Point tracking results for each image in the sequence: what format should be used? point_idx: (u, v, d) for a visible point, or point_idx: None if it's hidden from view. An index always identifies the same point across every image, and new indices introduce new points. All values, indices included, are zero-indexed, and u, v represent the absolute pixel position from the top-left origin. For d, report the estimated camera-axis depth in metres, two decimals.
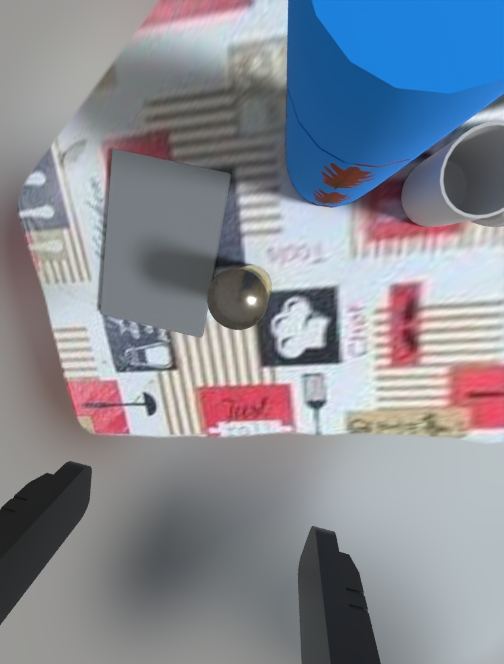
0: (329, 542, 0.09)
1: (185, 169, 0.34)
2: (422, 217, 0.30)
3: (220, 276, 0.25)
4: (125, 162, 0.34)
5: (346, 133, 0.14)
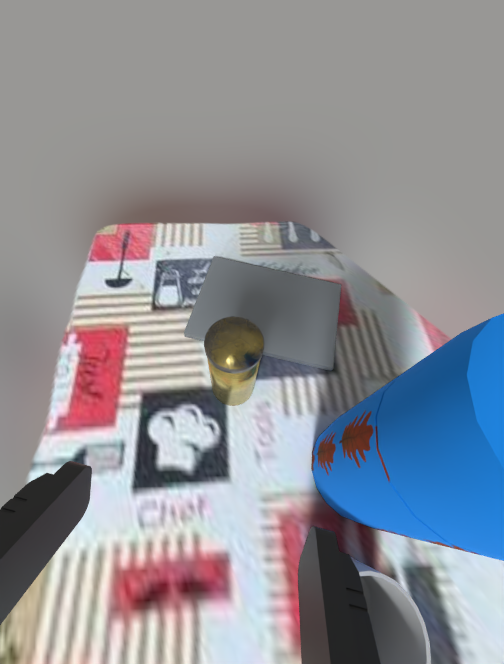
0: (329, 542, 0.09)
1: (332, 333, 0.40)
2: None
3: (257, 329, 0.27)
4: (332, 291, 0.44)
5: (408, 390, 0.16)
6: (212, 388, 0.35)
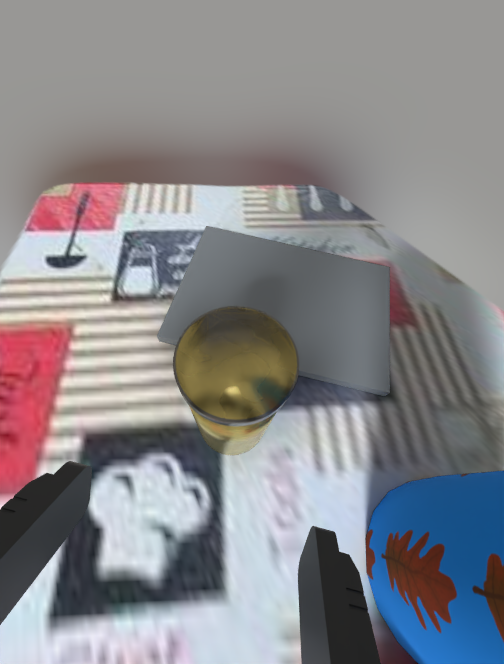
0: (329, 542, 0.09)
1: (383, 337, 0.27)
2: None
3: (282, 331, 0.13)
4: (378, 276, 0.30)
5: None
6: None
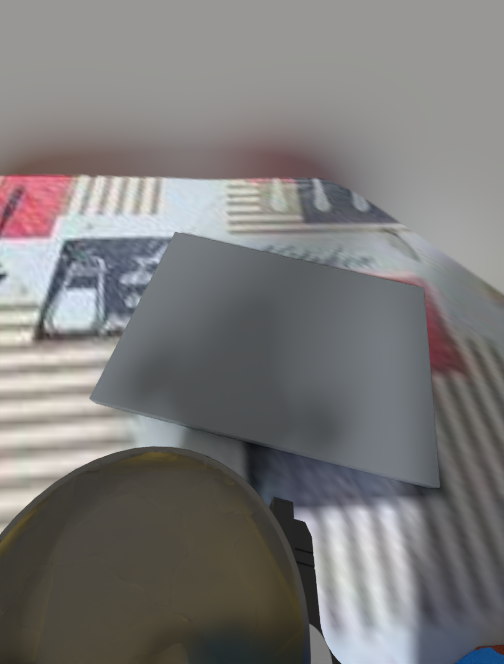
0: (285, 510, 0.10)
1: (423, 394, 0.18)
2: None
3: (265, 525, 0.05)
4: (409, 301, 0.22)
5: None
6: None
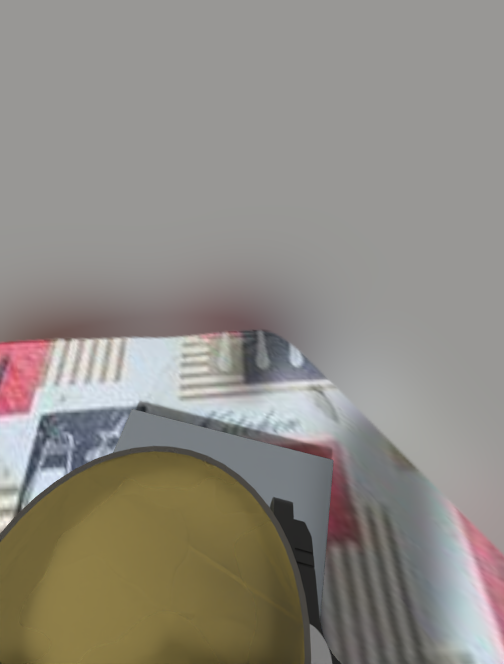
0: (285, 510, 0.10)
1: (316, 575, 0.23)
2: None
3: (265, 525, 0.05)
4: (319, 476, 0.27)
5: None
6: None
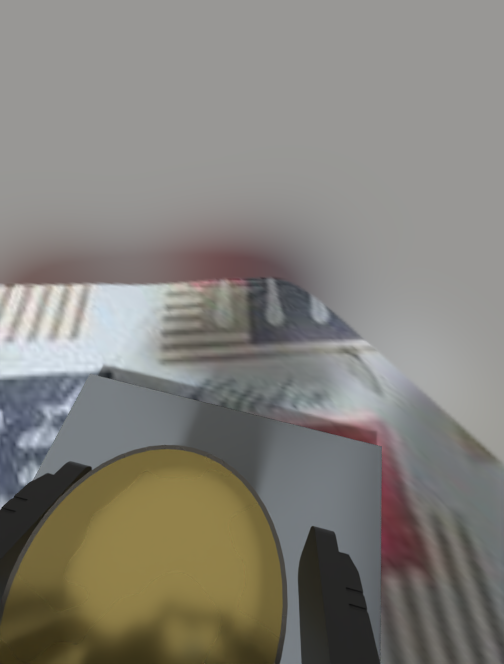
0: (329, 542, 0.09)
1: None
2: None
3: (254, 507, 0.07)
4: (362, 469, 0.18)
5: None
6: None
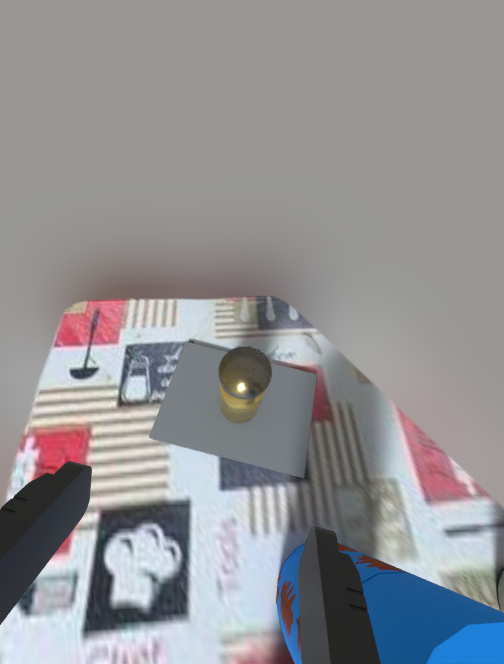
0: (329, 542, 0.09)
1: (305, 434, 0.39)
2: None
3: (265, 358, 0.30)
4: (307, 383, 0.42)
5: None
6: (221, 407, 0.38)
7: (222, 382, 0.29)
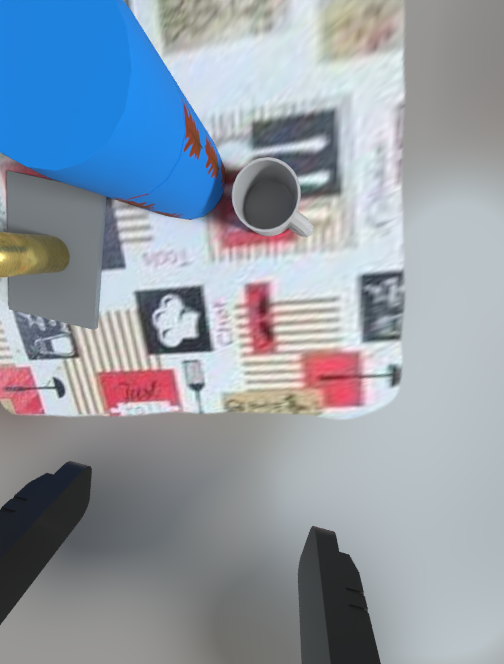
0: (329, 542, 0.09)
1: (66, 188, 0.40)
2: (251, 229, 0.37)
3: None
4: (18, 181, 0.41)
5: None
6: (55, 272, 0.42)
7: None
